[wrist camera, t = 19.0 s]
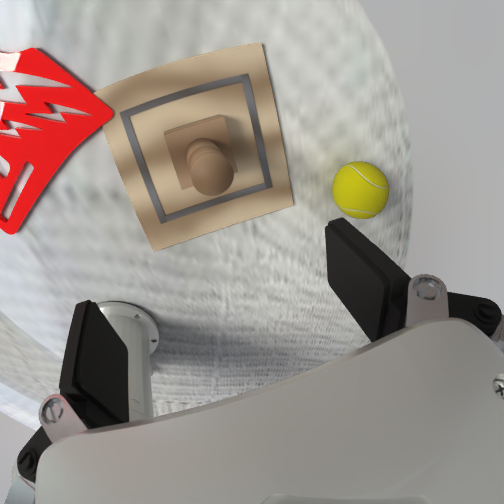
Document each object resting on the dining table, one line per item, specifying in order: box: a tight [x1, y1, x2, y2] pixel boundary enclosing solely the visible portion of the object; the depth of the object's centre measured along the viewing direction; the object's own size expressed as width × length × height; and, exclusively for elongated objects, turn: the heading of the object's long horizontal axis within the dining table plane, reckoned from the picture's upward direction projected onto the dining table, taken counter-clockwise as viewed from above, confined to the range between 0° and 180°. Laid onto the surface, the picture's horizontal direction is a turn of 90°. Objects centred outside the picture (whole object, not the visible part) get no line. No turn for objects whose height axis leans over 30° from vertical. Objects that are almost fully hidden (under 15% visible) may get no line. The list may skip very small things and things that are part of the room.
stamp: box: [164, 114, 238, 196], centre depth 26 cm, size 6×6×10 cm
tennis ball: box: [332, 162, 389, 219], centre depth 34 cm, size 7×7×7 cm
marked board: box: [92, 42, 293, 252], centre depth 30 cm, size 20×18×1 cm
